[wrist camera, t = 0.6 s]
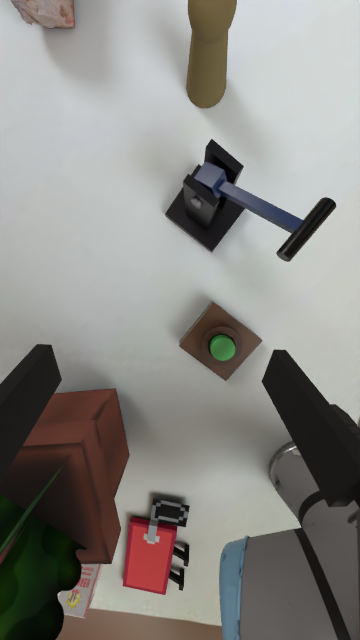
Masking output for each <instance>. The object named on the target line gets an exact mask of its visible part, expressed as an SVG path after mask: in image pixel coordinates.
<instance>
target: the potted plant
mask: <svg viewBox="0 0 360 640" xmlns="http://www.w3.org/2000/svg"><path fill="white" fill-rule="evenodd" d="M128 458H129V450H128V445H127V440H126V435H125V430H124V426H123V421H122V416H121V411H120V406H119V401H118V396H117V391H116V389H104V390H92V391H80V392H68V393H56V394H53V396H52V397H51V399H50V401H49V402H48V404H47V406H46V407H45V409H44V411H43V412H42V414H41V416H40V417H39V419H38V421H37V422H36V424H35V426H34V428H33V429H32V431H31V433H30V434H29V436H28V438H27V439H26V441H25V443H24V444H23V446H22V448H21V449H20V451H19V453H18V455H17V456H16V458H15V460H14V461H13V463H12V465H11V466H10V468H9V470H8V471H7V473H6V475H5V476H4V478H3V480H2V481H1V483H0V640H55V639H56V638H57V637H58V635H59V633H60V631H61V629H62V626H63V620H64V610H63V607H62V605H61V603H60V602H59V601H58V595H57V594H58V593H59V592H61V591H70V590H72V589H73V588H75V586H76V585H77V584H78V582H79V580H80V578H81V573H82V566H81V564H112V560H113V556H114V553H115V549H116V546H117V542H118V539H119V535H120V532H121V527H120V522H119V518H118V514H117V509H116V505H115V501H114V498H115V495H116V492H117V489H118V487H119V484H120V481H121V478H122V475H123V472H124V469H125V467H126V464H127V461H128Z"/></svg>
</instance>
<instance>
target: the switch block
mask: <svg viewBox="0 0 360 640" xmlns="http://www.w3.org/2000/svg"><path fill="white" fill-rule="evenodd" d="M218 335H226V336H228V337H229V338H230V339H231V340H232V342H233V343H234V345H235V353H234V355H233V356H232V357H231V358H230V359H228V360H225V361H220V360H217V359H215V358H214V357H213V356H212V354H211V351H210V342H211V340H212V339H213V338H214V337H216V336H218ZM261 342H262V339H260V338H259V337H258V336H257V335H256V334H254V333H253V332H252V331H251V330H249V329H248V328H247V327H245V326H244V325H243V324H242V323H240V322H239V321H238V320H236V319H235V318H234V317H233V316H231V315H230V314H229V313H227V312H226V311H225V310H224V309H222V308H221V307H220V306H218V305H217V304H216V303H215V302H213V301H212V302H211V303H210V305H209V306H208V307H207V308H206V309H205V311H204V312H203V313H202V314H201V316H200V317H199V318H198V319H197V321H196V322H195V323H194V324H193V326H192V327H191V328H190V329H189V331H188V332H187V333H186V334H185V336H184V337H183V338H182V339H181V341H180V344H179V346H180V347H181V348H182V349H184V350H185V351H186V352H188V353H189V354H190V355H192V356H193V357H194V358H196V359H197V360H198V361H200V362H201V363H203V364H204V365H205V366H207V367H208V368H209V369H211V370H212V371H213V372H215V373H216V374H217V375H219V376H220V377H221V378H223V379H224V380H225V381H226V380H227V379H228V378H229V377H230V376H231V375H232V374H233V373H234V371H235V370H236V369H237V368H238V367H239V366H240V365H241V364H242V363H243V362H244V360H245V359H246V358H247V357H248V356H249V355H250V354H251V353H252V352H253V351H254V349H255V348H256V347H257V346H258V345H259V344H260V343H261Z"/></svg>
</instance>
